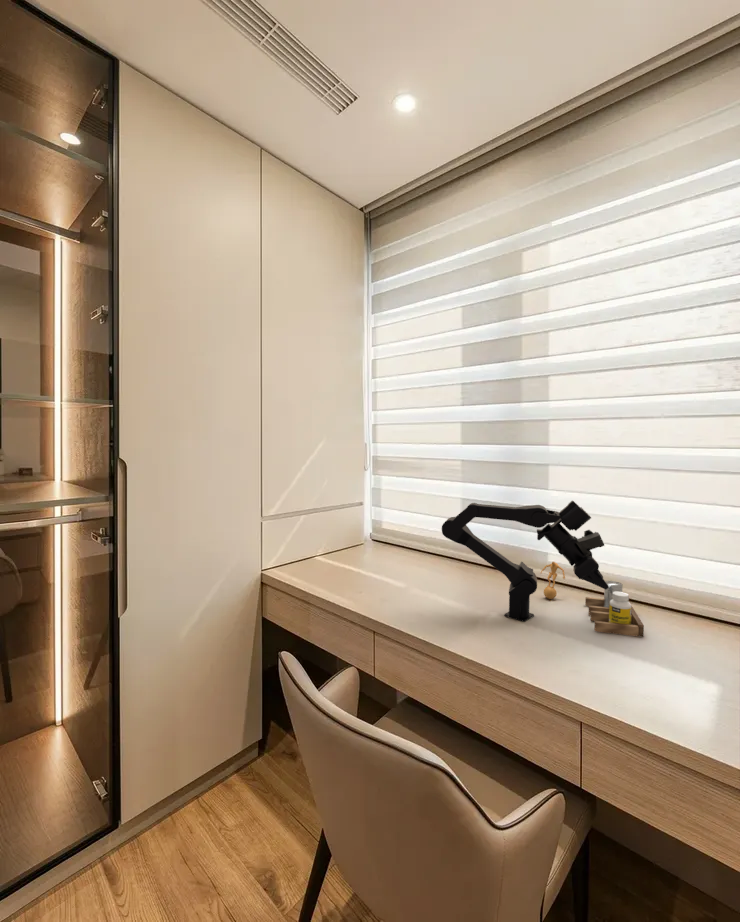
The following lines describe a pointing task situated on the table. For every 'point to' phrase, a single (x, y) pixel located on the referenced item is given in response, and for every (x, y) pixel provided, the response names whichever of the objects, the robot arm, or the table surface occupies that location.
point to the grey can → (611, 591)
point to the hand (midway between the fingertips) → (604, 583)
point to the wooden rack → (603, 624)
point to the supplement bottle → (620, 608)
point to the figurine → (550, 591)
